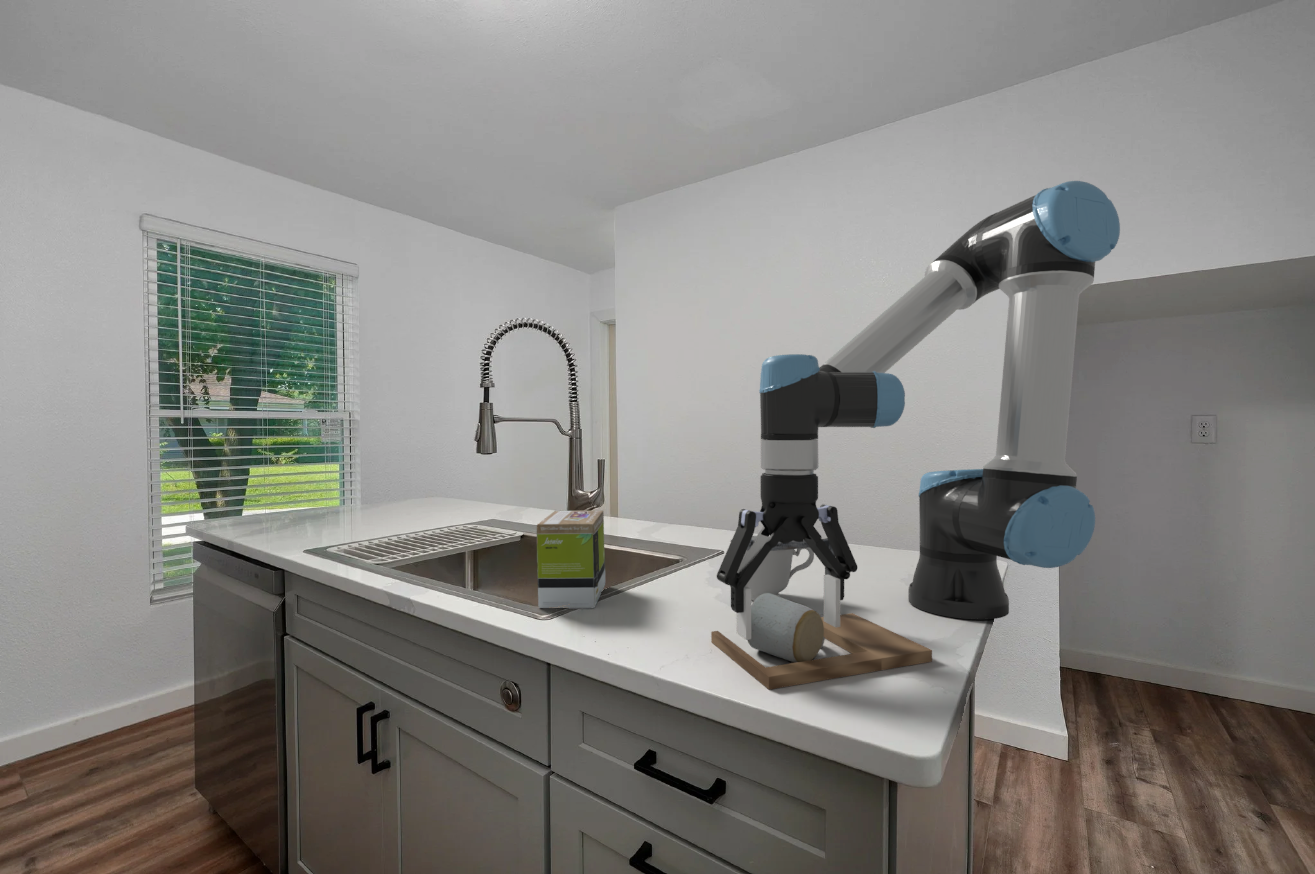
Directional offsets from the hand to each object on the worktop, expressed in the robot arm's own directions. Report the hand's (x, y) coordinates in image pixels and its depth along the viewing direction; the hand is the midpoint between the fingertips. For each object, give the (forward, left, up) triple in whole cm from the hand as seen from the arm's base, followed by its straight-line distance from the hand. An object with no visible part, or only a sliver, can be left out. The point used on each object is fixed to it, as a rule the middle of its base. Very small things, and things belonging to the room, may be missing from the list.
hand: (789, 630), depth 79 cm
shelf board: (-4, 0, -3) cm, 5 cm away
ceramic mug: (0, 0, -3) cm, 4 cm away
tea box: (+22, -37, -3) cm, 43 cm away
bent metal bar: (-7, -9, -3) cm, 12 cm away
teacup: (-11, -24, -3) cm, 26 cm away
